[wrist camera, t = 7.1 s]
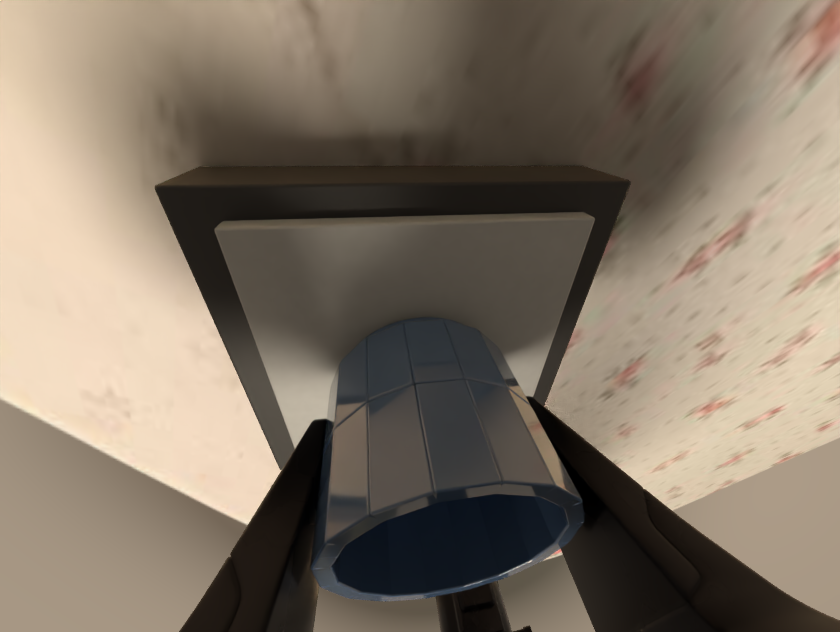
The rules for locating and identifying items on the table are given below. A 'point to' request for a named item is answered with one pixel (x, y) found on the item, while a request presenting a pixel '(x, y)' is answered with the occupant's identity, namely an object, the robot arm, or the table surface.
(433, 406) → the small cup
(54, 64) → the table surface
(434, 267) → the kitchen scale
